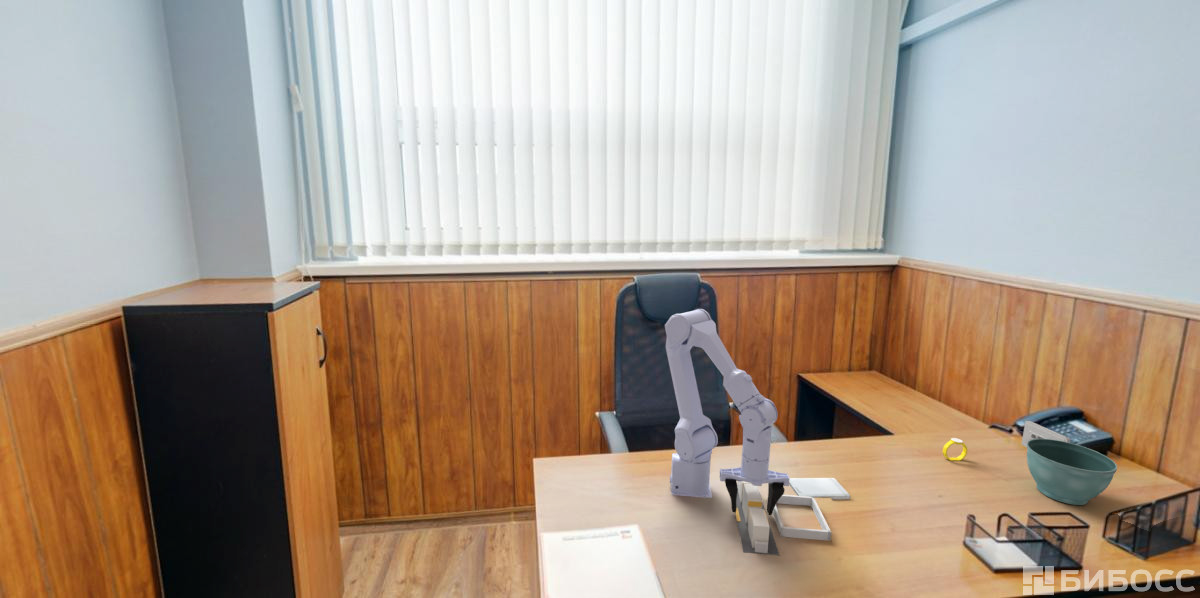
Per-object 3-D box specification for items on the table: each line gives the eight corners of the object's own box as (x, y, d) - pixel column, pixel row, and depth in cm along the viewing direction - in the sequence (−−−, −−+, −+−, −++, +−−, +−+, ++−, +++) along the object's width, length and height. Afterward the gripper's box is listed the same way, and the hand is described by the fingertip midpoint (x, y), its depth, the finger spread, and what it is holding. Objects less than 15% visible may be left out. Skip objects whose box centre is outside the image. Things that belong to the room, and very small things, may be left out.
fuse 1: (740, 502, 120) (742, 482, 120) (737, 488, 126) (738, 469, 125) (754, 503, 120) (755, 483, 119) (749, 489, 126) (751, 470, 125)
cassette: (1019, 444, 152) (1023, 420, 151) (1025, 444, 152) (1029, 419, 151) (1061, 465, 141) (1066, 439, 139) (1066, 464, 141) (1072, 438, 139)
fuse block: (743, 554, 104) (744, 543, 103) (728, 486, 128) (728, 476, 128) (779, 557, 103) (780, 546, 102) (757, 488, 127) (757, 478, 127)
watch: (959, 458, 144) (964, 438, 143) (967, 463, 142) (971, 443, 140) (938, 456, 144) (943, 436, 143) (945, 461, 141) (950, 441, 140)
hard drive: (799, 496, 123) (850, 494, 123) (785, 477, 131) (833, 476, 131) (798, 502, 123) (849, 501, 124) (785, 483, 131) (833, 482, 132)
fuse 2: (752, 547, 105) (754, 525, 104) (747, 529, 111) (749, 508, 110) (767, 549, 105) (769, 526, 104) (762, 530, 110) (763, 509, 109)
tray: (780, 538, 109) (781, 528, 108) (768, 503, 121) (769, 493, 121) (830, 543, 108) (831, 532, 107) (812, 506, 120) (813, 496, 120)
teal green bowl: (1090, 486, 130) (1099, 446, 128) (1121, 522, 116) (1131, 477, 114) (1011, 471, 137) (1018, 433, 135) (1031, 503, 122) (1039, 461, 120)
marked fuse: (746, 523, 113) (748, 498, 111) (742, 507, 119) (743, 483, 117) (760, 524, 112) (762, 499, 111) (755, 508, 118) (757, 484, 117)
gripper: (723, 461, 110) (720, 519, 112) (794, 466, 108) (789, 525, 111) (720, 446, 116) (716, 500, 119) (786, 450, 115) (782, 505, 117)
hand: (751, 511), depth 115 cm, fingers open, 7 cm apart
